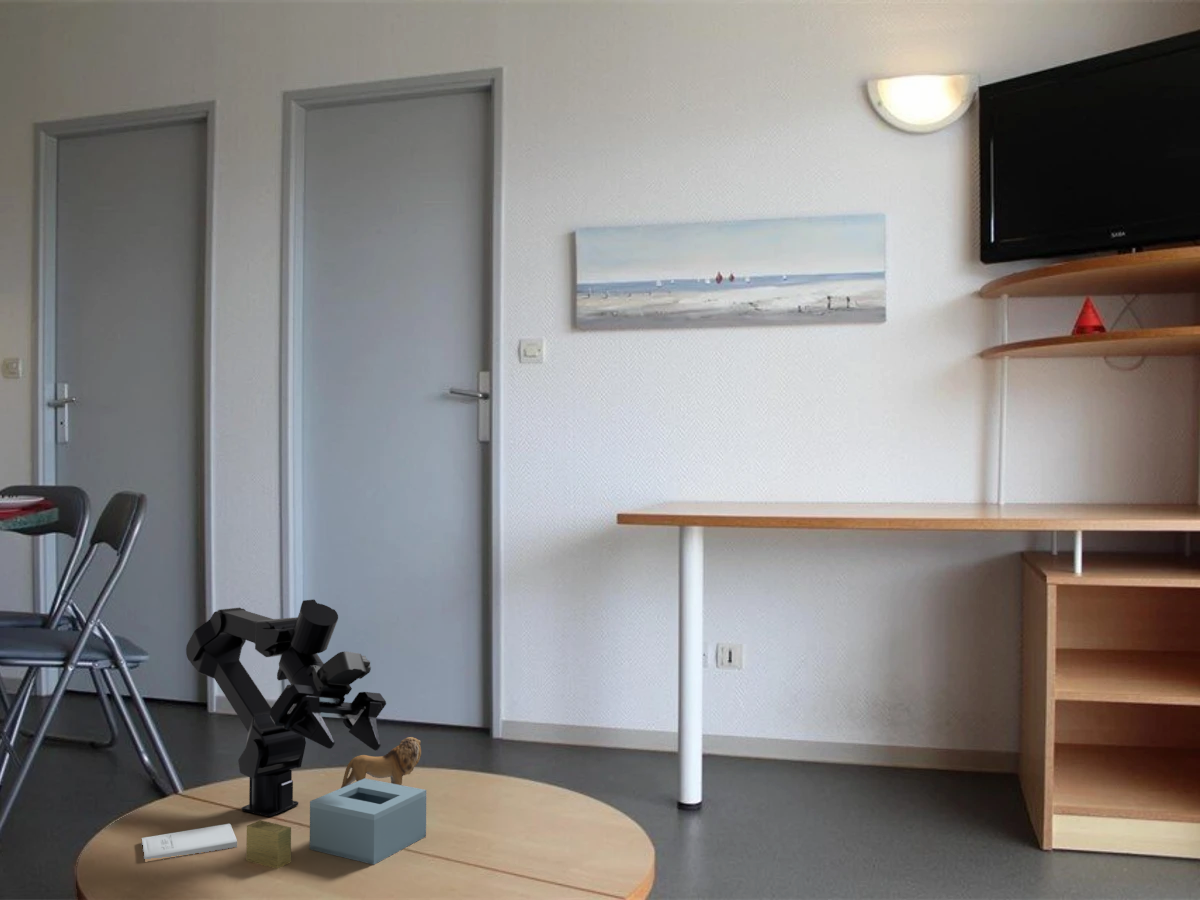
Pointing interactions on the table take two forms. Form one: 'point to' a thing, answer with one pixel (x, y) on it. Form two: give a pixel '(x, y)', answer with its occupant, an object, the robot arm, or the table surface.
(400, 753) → the lion figurine
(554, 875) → the table surface
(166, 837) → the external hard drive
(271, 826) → the yellow rectangular block
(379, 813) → the tissue box
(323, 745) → the robot arm
